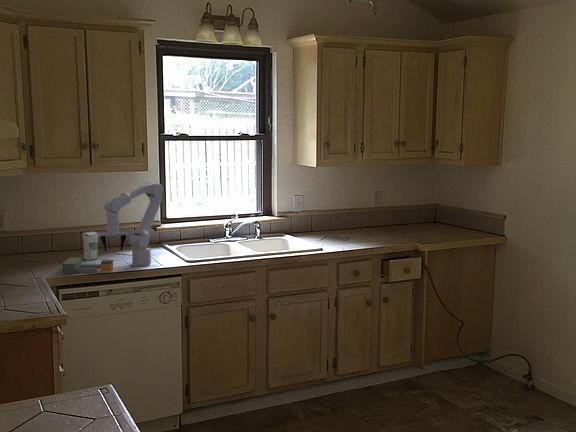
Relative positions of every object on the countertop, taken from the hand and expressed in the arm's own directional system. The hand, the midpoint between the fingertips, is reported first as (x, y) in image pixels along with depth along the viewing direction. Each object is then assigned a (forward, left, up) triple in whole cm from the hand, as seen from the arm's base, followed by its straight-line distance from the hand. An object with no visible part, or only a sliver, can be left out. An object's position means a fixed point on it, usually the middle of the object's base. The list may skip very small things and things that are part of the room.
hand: (113, 250), depth 309 cm
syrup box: (+17, -24, -10) cm, 31 cm away
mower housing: (+15, +3, -10) cm, 18 cm away
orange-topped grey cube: (+3, +3, -10) cm, 10 cm away
